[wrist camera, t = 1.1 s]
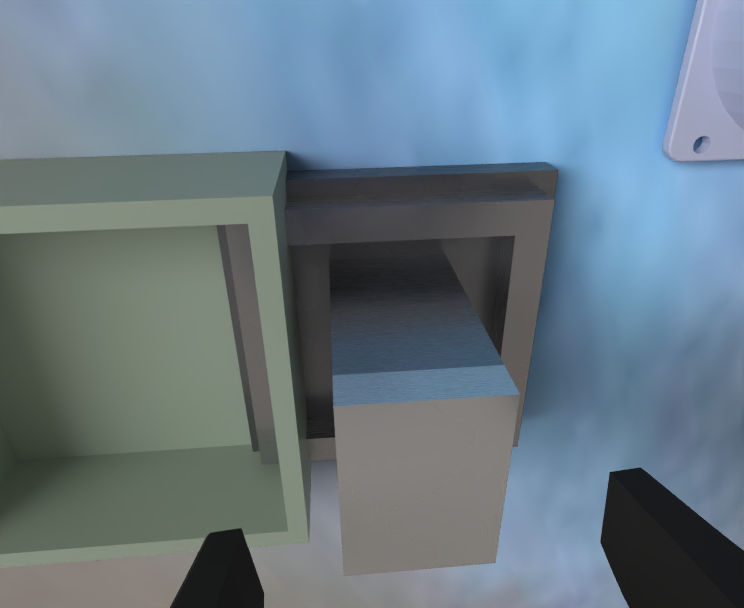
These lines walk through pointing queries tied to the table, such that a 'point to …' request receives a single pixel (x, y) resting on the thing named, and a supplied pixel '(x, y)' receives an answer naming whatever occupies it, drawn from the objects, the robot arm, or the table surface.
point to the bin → (142, 358)
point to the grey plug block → (416, 417)
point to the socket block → (395, 239)
